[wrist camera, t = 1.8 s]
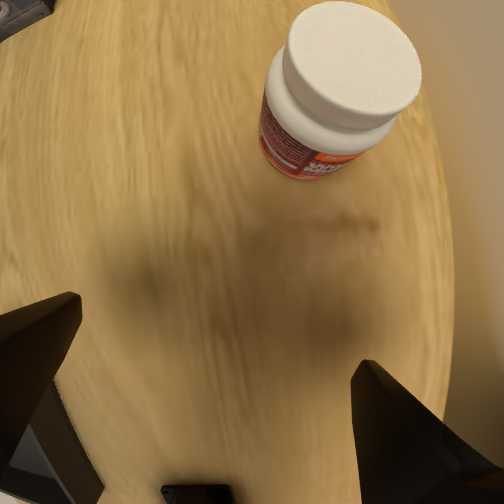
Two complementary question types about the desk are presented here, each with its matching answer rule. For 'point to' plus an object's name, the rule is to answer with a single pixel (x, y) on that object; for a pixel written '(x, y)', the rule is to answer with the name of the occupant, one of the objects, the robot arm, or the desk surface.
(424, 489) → the robot arm
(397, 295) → the desk surface
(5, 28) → the vhs cassette tape
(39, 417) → the bin
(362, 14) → the pill bottle
